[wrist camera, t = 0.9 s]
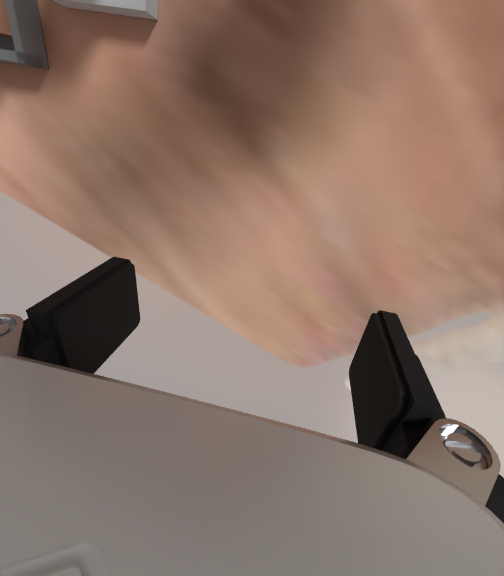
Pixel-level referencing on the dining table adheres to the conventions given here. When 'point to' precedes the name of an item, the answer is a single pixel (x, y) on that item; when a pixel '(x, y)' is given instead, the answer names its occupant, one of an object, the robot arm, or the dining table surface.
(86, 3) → the light grey square frame
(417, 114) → the dining table surface
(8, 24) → the block
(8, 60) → the grey two-slot rack
